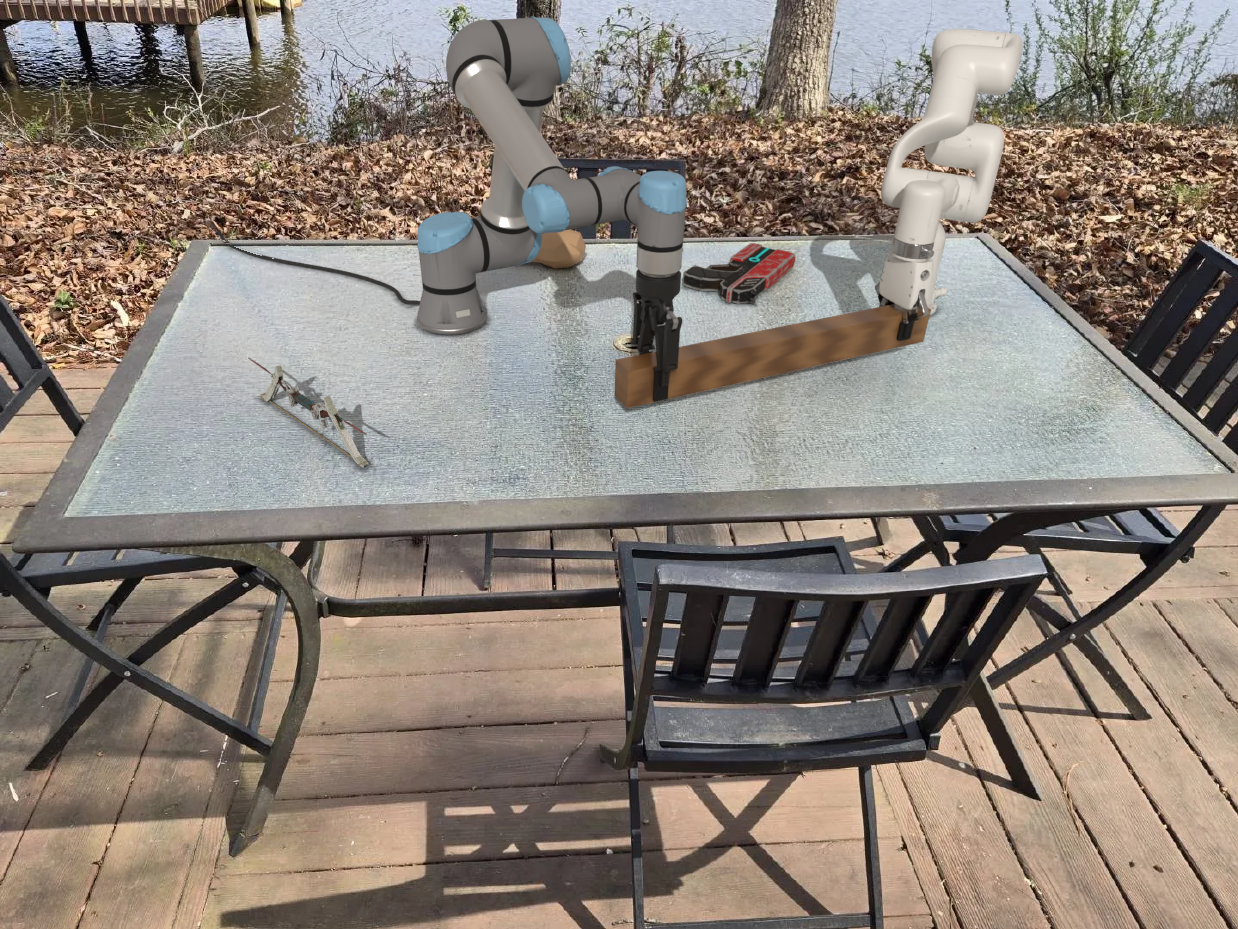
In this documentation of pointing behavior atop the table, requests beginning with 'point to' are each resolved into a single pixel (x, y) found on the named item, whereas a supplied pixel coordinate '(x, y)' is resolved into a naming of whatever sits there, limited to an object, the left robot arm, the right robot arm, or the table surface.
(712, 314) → the table surface
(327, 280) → the table surface
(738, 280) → the gun
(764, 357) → the post
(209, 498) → the table surface
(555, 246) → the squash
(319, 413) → the bow
